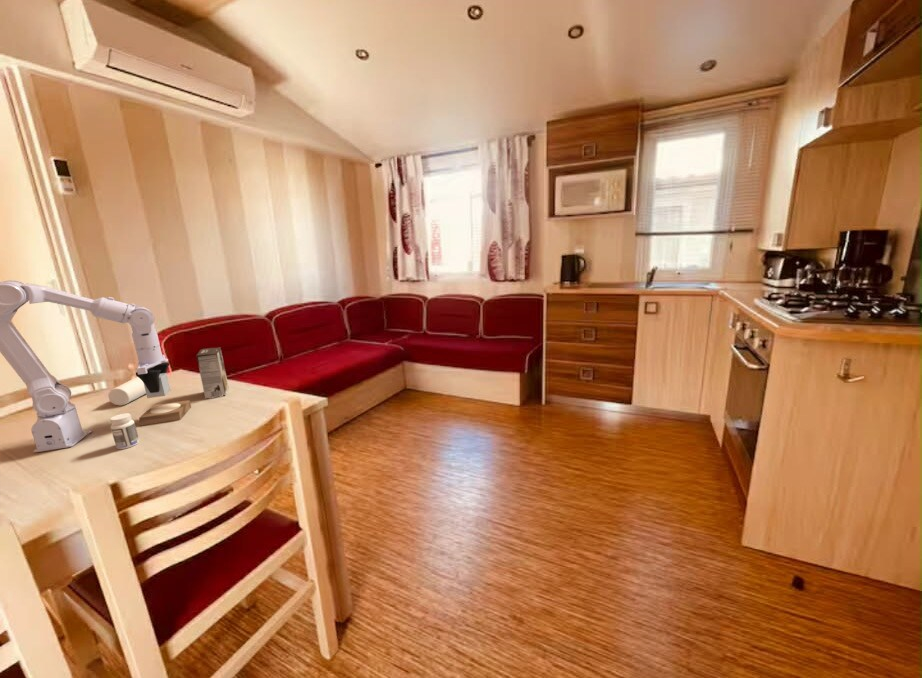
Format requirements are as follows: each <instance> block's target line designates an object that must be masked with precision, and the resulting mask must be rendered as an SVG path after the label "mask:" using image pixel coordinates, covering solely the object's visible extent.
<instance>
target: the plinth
mask: <svg viewBox="0 0 922 678" xmlns="http://www.w3.org/2000/svg"><path fill="white" fill-rule="evenodd" d="M190 409H192V404H191V400H190V399H189V400H182V401H180V400H179V401H173V402H167V403H160V404H153V405H151V407H149V408H148V409H147V410H146V411H145V412H144V413H143V414H142V415H140V416H139V418H138V419H139V423H140V426H146V425H147V426H149V425H154V424H160V423H168V422H174V421H181V420H182V419H183V417H185V415H186V414H187V413H188V412H189V411H190Z"/></svg>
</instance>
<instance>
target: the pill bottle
mask: <svg viewBox="0 0 922 678" xmlns="http://www.w3.org/2000/svg"><path fill="white" fill-rule="evenodd" d="M110 423H111V425H110V431H111V434H112V438H113V441H114V444H115V447H116V449H118V450H125V449H126V450H127V449H129V448H132V447H135V446H137V445H138V444H139V443H140V438H139V434H138V430H137V426H136V423H135V421H134V420H133V419H132V415H131V414H130V413H128V412H125V413H120V414H119V413H118V414H117V415H114V416H112V417H111V418H110Z"/></svg>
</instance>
